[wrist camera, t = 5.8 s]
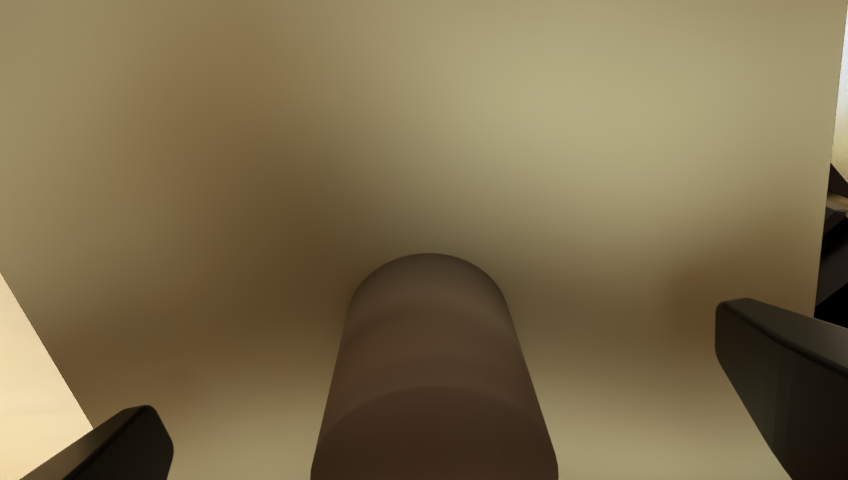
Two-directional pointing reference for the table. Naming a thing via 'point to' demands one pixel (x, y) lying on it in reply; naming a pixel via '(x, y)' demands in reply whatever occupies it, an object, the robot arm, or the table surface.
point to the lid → (416, 224)
